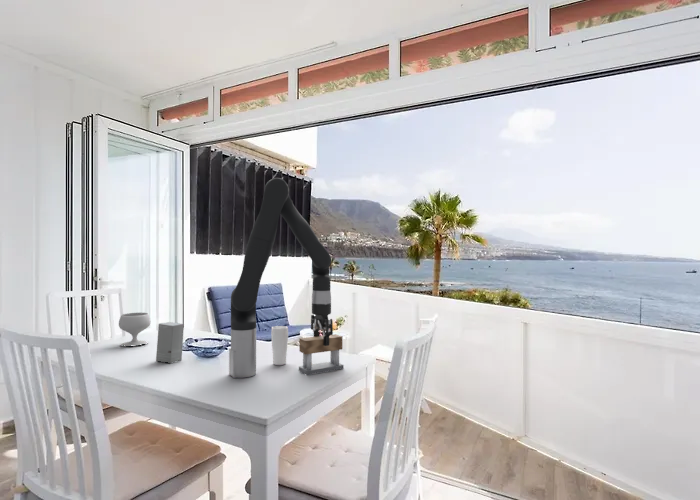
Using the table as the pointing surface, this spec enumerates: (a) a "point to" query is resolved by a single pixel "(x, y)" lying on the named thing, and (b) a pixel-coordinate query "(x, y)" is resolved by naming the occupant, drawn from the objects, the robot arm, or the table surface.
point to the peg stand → (320, 364)
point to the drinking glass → (279, 344)
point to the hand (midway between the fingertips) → (321, 343)
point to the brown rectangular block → (319, 344)
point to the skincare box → (169, 342)
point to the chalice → (134, 326)
